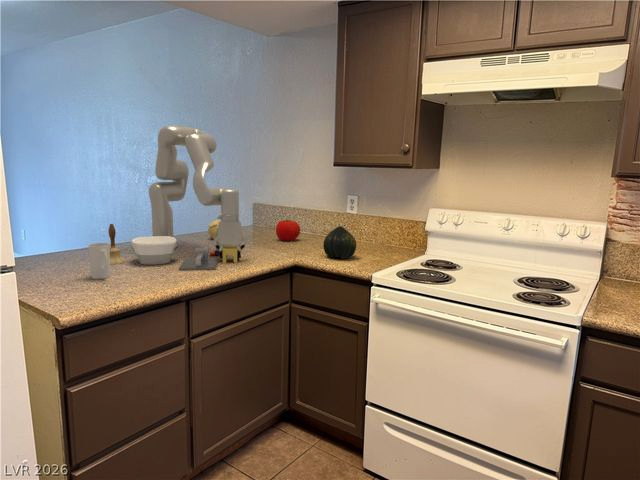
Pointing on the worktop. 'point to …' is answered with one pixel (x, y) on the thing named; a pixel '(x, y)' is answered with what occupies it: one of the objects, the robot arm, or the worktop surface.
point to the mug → (99, 260)
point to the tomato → (287, 230)
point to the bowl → (154, 249)
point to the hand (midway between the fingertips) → (230, 259)
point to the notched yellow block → (229, 252)
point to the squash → (339, 243)
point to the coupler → (200, 261)
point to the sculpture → (213, 228)
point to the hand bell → (114, 248)
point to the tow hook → (216, 252)
